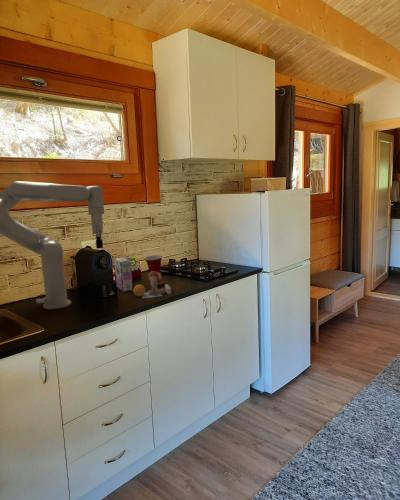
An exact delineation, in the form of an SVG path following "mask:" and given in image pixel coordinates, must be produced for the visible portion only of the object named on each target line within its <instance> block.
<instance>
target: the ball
mask: <svg viewBox="0 0 400 500" xmlns="http://www.w3.org/2000/svg"><path fill="white" fill-rule="evenodd" d="M132 291H133V295H135V296H136V297H141V296H143V295H144V293H146V288H145V286H144V285H142V284H141V283H140V284H136V285H135V286H134V287H133V290H132Z"/></svg>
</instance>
